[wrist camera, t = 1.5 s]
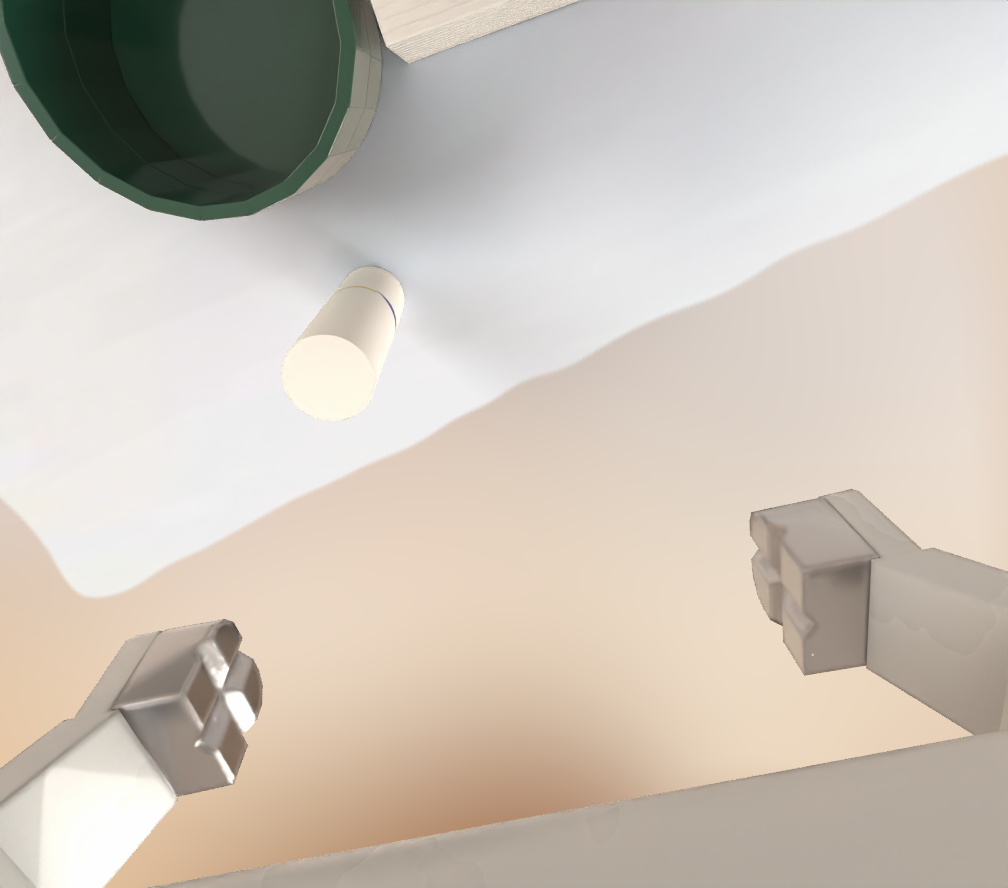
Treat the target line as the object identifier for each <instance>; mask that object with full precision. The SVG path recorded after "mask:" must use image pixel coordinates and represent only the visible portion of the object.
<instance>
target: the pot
mask: <svg viewBox="0 0 1008 888" xmlns="http://www.w3.org/2000/svg"><path fill="white" fill-rule="evenodd" d="M0 53H1V56H2V58H3V61H4V64H5V66H6V69H7V71H8V74H9V77H10V79H11V82H12V84H13V85H14V88H15V89H16V91H17V92H18V94H19V95H20V97H21V98H22V99H23V101H24V102H25V104H26V105H27V107H28V108H29V110H30V111H31V113H32V114H33V115H34V117H35V118H36V120H37V121H38V123H39V124H40V126H41V127H42V128H43V130H44V131H45V133H46V134H47V136H48V137H49V139H50V140H52V142H53V143H54V144H55V145H56V146H58V147H59V148H60V149H61V150H62V151H63V152H64V153H65V154H66V155H68V156H69V157H70V158H71V159H72V160H73V161H74V162H75V163H76V164H78V165H79V166H80V167H81V168H82V169H83V170H84V171H85V172H86V173H88V174H89V175H90V176H91V177H92V178H93V179H94V180H95V181H97V182H98V183H99V184H101V185H103V186H105V187H106V188H108V189H110V190H112V191H114V192H116V193H118V194H120V195H122V196H124V197H125V198H127V199H129V200H131V201H133V202H135V203H137V204H139V205H141V206H143V207H144V208H146V209H149V210H151V211H156V212H161V213H166V214H171V215H175V216H180V217H185V218H190V219H194V220H199V221H201V220H202V221H206V220H215V219H224V218H233V217H242V216H250V215H253V214H255V213H258V212H260V211H262V210H264V209H267V208H269V207H271V206H273V205H276V204H278V203H280V202H282V201H285V200H287V199H289V198H291V197H294V196H296V195H298V194H300V193H302V192H304V191H306V190H308V189H310V188H312V187H314V186H316V185H318V184H320V183H322V182H324V181H326V180H328V179H330V178H331V177H333V176H334V175H335V174H336V173H337V171H338V170H340V169H341V168H342V167H343V166H344V165H345V164H346V163H347V162H348V161H349V160H350V158H351V157H352V156H353V155H354V153H355V152H356V151H357V150H358V148H359V147H360V145H361V143H362V141H363V140H364V138H365V136H366V135H367V132H368V130H369V128H370V125H371V123H372V121H373V118H374V115H375V112H376V108H377V104H378V100H379V94H380V87H381V76H382V56H381V44H380V38H379V33H378V27H377V22H376V18H375V12H374V9H373V7H372V5H371V3H370V0H0Z"/></svg>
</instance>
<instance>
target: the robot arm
mask: <svg viewBox="0 0 1008 888" xmlns="http://www.w3.org/2000/svg"><path fill="white" fill-rule="evenodd" d="M750 536H751V537H752V539H753V540H754V542H755V543H756V545H757V546H758V548H759V549H758V551H757V552H756V553H755V555H754V556H753V558H752V571H753V579H754V582H755V587H756V591H757V595H758V597H759V599H760V602H761V604H762V606H763V608H764V610H765V612H766V614H767V615H768V617H769V618H770V620H771V621H774V622H776V623H777V624H779V625H782V626H783V642H784V643H785V645H786V647H787V648H788V650H789V651H790V653H791V655H792V656H793V658H794V660H795V661H796V663H797V664H798V666H799V668H800V669H801V671H802V673H803V674H804V675H810V674H816V673H822V672H829V671H835V670H841V669H847V668H853V667H859V666H865V665H866V666H867V667H866V668H867V669H869V670H870V671H872V672H873V673H875V674H876V675H878V676H880V677H882V678H883V679H885V680H886V681H888V682H889V683H891V684H893V685H894V686H896V687H898V688H899V689H901V690H902V691H904V692H906V693H907V694H909V695H910V696H912V697H914V698H915V699H917V700H919V701H920V702H922V703H924V704H925V705H927V706H928V707H930V708H932V709H933V710H935V711H936V712H938V713H940V714H941V715H943V716H944V717H946V718H948V719H949V720H951V721H952V722H954V723H956V724H957V725H959V726H961V727H962V728H964V729H966V730H967V731H969V732H970V733H972V734H973V735H974V736H969V737H963V738H958V739H952V740H947V741H942V742H936V743H931V744H926V745H920V746H914V747H909V748H904V749H898V750H893V751H887V752H882V753H877V754H872V755H866V756H861V757H855V758H850V759H845V760H840V761H834V762H828V763H823V764H818V765H812V766H807V767H802V768H797V769H791V770H785V771H780V772H775V773H769V774H764V775H759V776H753V777H748V778H742V779H736V780H731V781H725V782H720V783H715V784H709V785H703V786H698V787H692V788H687V789H681V790H676V791H670V792H665V793H659V794H654V795H648V796H643V797H638V798H632V799H626V800H621V801H615V802H610V803H605V804H600V805H594V806H588V807H583V808H577V809H572V810H567V811H561V812H555V813H550V814H545V815H540V816H534V817H528V818H523V819H518V820H512V821H507V822H501V823H496V824H490V825H485V826H480V827H474V828H469V829H463V830H458V831H452V832H447V833H442V834H436V835H431V836H425V837H420V838H415V839H409V840H404V841H399V842H393V843H387V844H383V845H377V846H371V847H366V848H360V849H355V850H350V851H344V852H339V853H333V854H328V855H322V856H317V857H312V858H306V859H301V860H296V861H290V862H285V863H279V864H274V865H268V866H263V867H257V868H253V869H246V870H241V871H236V872H231V873H225V874H219V875H214V876H209V877H203V878H198V879H192V880H187V881H181V882H176V883H170V884H165V885H160V886H154V887H149V888H1008V572H1007V571H1004V570H1001V569H998V568H995V567H991V566H989V565H985V564H982V563H979V562H976V561H973V560H970V559H967V558H963V557H961V556H958V555H954V554H951V553H948V552H945V551H942V550H939V549H936V548H929V549H924V550H922V549H921V548H920V547H919V546H918V545H917V544H916V543H915V542H913V541H912V540H911V539H910V538H909V537H908V536H907V535H906V534H905V533H904V532H903V531H901V530H900V529H899V528H898V527H897V526H896V525H895V524H894V523H893V522H892V521H891V520H890V519H889V518H887V517H886V516H885V515H884V514H883V513H882V512H881V511H880V510H879V509H878V508H876V507H875V506H874V505H873V504H872V503H871V502H870V501H869V500H868V499H867V498H866V497H865V496H863V494H861V493H860V492H859V491H856V490H853V489H850V490H846V491H842V492H838V493H833V494H829V495H825V496H820V497H818V498H816V499H811V500H807V501H802V502H797V503H793V504H788V505H783V506H779V507H774V508H769V509H764V510H760V511H755V512H752V513H751V517H750ZM241 641H242V636H241V635H240V633H239V631H238V629H237V628H236V626H235V624H234V623H233V622H232V621H229V620H226V619H222V620H217V621H211V622H205V623H200V624H195V625H189V626H183V627H178V628H172V629H167V630H164V631H157V632H152V633H147V634H142V635H137V636H134V637H132V638H130V639H128V640H127V641H125V643H124V644H123V646H122V647H121V649H120V650H119V652H118V653H117V655H116V656H115V658H114V659H113V661H112V662H111V664H110V665H109V667H108V668H107V670H106V671H105V673H104V674H103V676H102V677H101V679H100V680H99V682H98V683H97V685H96V686H95V687H94V689H93V690H92V692H91V693H90V695H89V697H88V698H87V700H86V701H85V702H84V704H83V706H82V707H81V709H80V710H79V711H78V713H77V714H76V716H75V717H74V718H73V719H68V720H64V721H62V722H61V723H60V724H58V725H57V726H56V727H54V728H53V729H52V730H50V731H49V732H48V733H46V734H45V735H44V736H42V737H41V738H40V739H38V740H37V741H36V742H34V743H33V744H32V745H30V746H29V747H28V748H26V750H24V751H22V752H21V753H20V754H19V755H17V756H16V757H15V758H13V759H12V760H11V761H9V762H8V763H7V764H5V765H4V766H3V767H1V768H0V888H104V887H105V886H106V884H107V883H108V882H109V881H110V880H111V879H112V877H113V876H114V875H115V874H116V873H117V871H118V870H119V869H120V868H121V867H122V865H123V864H124V863H125V862H126V861H127V860H128V858H129V857H130V856H131V855H132V854H133V852H134V851H135V850H136V849H137V848H138V847H139V845H140V844H141V843H142V842H143V841H144V840H145V838H146V837H147V836H148V835H149V834H150V832H151V831H152V830H153V829H154V828H155V826H156V825H157V824H158V823H159V822H160V821H161V819H162V818H163V817H164V816H165V815H166V814H167V812H168V811H169V810H170V809H171V808H172V807H173V805H174V804H175V803H176V802H177V801H178V798H177V797H179V796H183V795H188V794H192V793H196V792H201V791H205V790H210V789H215V788H219V787H224V786H228V785H233V784H234V782H235V779H236V776H237V773H238V771H239V768H240V765H241V763H242V760H243V757H244V754H245V752H246V749H247V746H248V745H247V743H246V741H245V739H244V737H243V734H244V733H245V732H246V731H247V730H248V729H249V727H251V726H252V724H253V723H254V722H255V721H256V720H257V718H258V715H259V711H260V708H261V706H262V688H263V685H262V681H261V677H260V673H259V670H258V668H257V666H256V664H255V662H254V660H253V659H252V658H250V657H249V656H247V655H245V654H244V653H242V652H240V651H239V647H240V644H241Z"/></svg>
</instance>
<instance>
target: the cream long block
mask: <svg viewBox="0 0 1008 888" xmlns="http://www.w3.org/2000/svg"><path fill="white" fill-rule="evenodd" d="M370 1H371V4H372V6H373V9H374V12H375V15H376V18H377V21H378V24H379V27H380V30H381V33H382V36H383V39H384V42H385V45H386V47H388V48H389V49H390V50H391V51H393V52H394V53H396V54H397V55H398V56H399V57H400V58H402V59H403V60H404V61H405V62H407V63H411V62H413V61H416V60H419V59H422V58H424V57H427V56H430V55H432V54H435V53H438V52H441V51H443V50H446V49H449V48H451V47H454V46H457V45H460V44H462V43H465V42H468V41H471V40H473V39H476V38H479V37H481V36H484V35H487V34H490V33H492V32H495V31H498V30H500V29H503V28H506V27H509V26H511V25H514V24H517V23H520V22H522V21H525V20H528V19H530V18H533V17H536V16H539V15H541V14H544V13H547V12H549V11H552V10H555V9H558V8H560V7H563V6H566V5H568V4H571V3H574V2H577V1H579V0H370Z"/></svg>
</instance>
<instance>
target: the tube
mask: <svg viewBox="0 0 1008 888" xmlns="http://www.w3.org/2000/svg"><path fill="white" fill-rule="evenodd" d="M403 308H404V293H403V289H402V287H401V285H400V283H399V282H398V281H397V279H396V278H395V277H394V276H393V275H392V274H391V273H389V272H388V271H386V270H384V269H381V268H378V267H371V266H367V267H361V268H359V269H356V270H354V271H353V272H351V273H350V274H349V275H348V276H347V277H346V278H345V279H344V281H343V282H342V283H341V285H340V286H339V287H338V288H337V290H336V291H335V292H334V294H333V295H332V296H331V297H330V299H329V300H328V301H327V303H326V304H325V305H324V306H323V308H322V309H321V310H320V311H319V313H318V314H317V315H316V317H315V318H314V319H313V320H312V322H311V323H310V324H309V326H308V327H307V328H306V329H305V331H304V332H303V333H302V335H301V336H300V337H299V338H298V340H297V341H296V342H295V343H294V345H293V346H292V347H291V349H290V350H289V351H288V353H287V355H286V356H285V358H284V361H283V364H282V372H281V374H282V382H283V385H284V388H285V391H286V393H287V395H288V396H289V398H290V400H291V401H292V402H293V403H294V404H295V405H296V406H297V407H298V408H299V409H300V410H302V411H303V412H305V413H306V414H308V415H310V416H312V417H315V418H318V419H322V420H327V421H338V420H344V419H347V418H350V417H353V416H355V415H356V414H358V413H359V412H361V411H362V410H363V409H364V408H365V407H366V406H367V404H368V403H369V401H370V400H371V397H372V395H373V392H374V390H375V387H376V384H377V381H378V379H379V376H380V373H381V370H382V367H383V365H384V362H385V359H386V356H387V353H388V351H389V348H390V345H391V342H392V339H393V337H394V334H395V331H396V328H397V325H398V323H399V320H400V317H401V314H402V311H403Z"/></svg>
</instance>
